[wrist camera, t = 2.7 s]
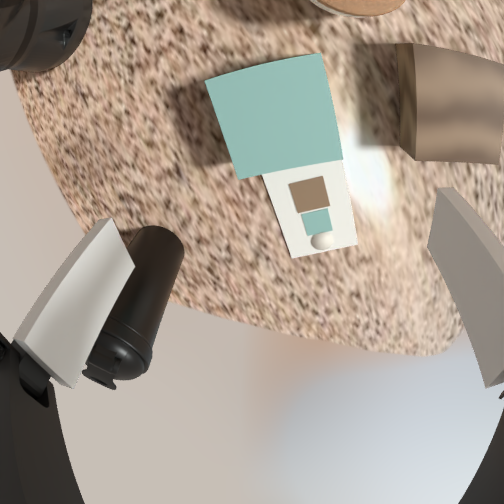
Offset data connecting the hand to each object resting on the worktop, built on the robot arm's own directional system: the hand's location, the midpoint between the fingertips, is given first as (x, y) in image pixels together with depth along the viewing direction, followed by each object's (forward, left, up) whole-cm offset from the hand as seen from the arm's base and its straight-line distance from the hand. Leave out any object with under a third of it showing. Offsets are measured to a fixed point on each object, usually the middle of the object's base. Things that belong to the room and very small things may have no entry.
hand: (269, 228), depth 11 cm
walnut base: (-1, +21, -24) cm, 32 cm away
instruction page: (+14, +3, -24) cm, 28 cm away
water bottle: (+18, -21, -25) cm, 37 cm away
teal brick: (0, 0, -25) cm, 25 cm away
